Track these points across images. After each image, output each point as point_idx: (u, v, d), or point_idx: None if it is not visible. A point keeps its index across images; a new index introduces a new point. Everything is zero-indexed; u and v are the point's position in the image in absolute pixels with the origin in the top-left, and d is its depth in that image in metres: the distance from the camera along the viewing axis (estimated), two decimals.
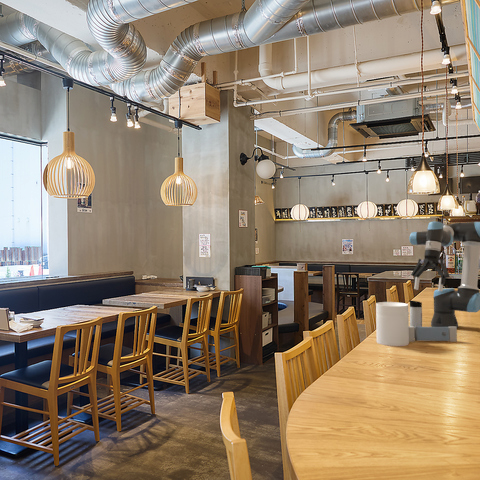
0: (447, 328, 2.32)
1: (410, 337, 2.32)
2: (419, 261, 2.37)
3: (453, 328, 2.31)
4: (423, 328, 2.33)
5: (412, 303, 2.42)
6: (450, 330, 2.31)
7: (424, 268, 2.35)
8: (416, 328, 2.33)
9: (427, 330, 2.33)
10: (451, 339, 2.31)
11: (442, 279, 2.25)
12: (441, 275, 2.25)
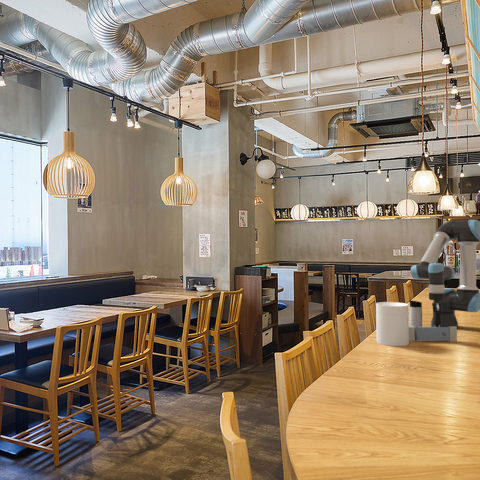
0: (447, 328, 2.31)
1: (410, 337, 2.32)
2: None
3: (453, 328, 2.31)
4: (423, 328, 2.33)
5: (412, 303, 2.42)
6: (450, 330, 2.31)
7: None
8: (416, 328, 2.33)
9: (427, 330, 2.32)
10: (451, 339, 2.31)
11: (435, 325, 2.35)
12: (434, 322, 2.35)
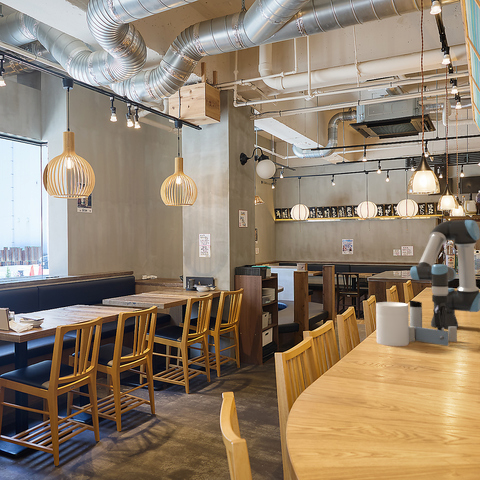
0: (446, 332, 2.22)
1: (410, 337, 2.32)
2: None
3: (453, 328, 2.31)
4: (422, 329, 2.31)
5: (412, 303, 2.42)
6: (450, 330, 2.31)
7: None
8: (415, 328, 2.33)
9: (425, 332, 2.29)
10: (451, 339, 2.31)
11: None
12: None
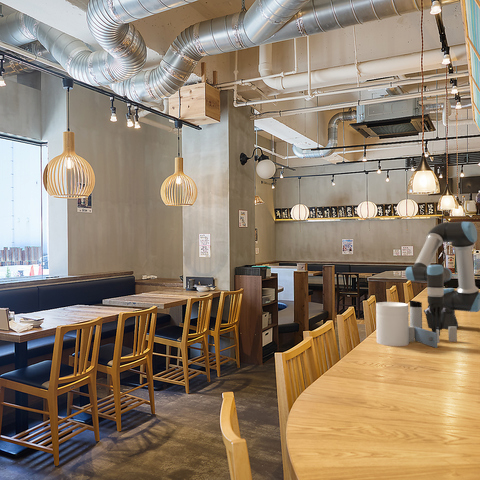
0: (434, 334, 2.18)
1: (410, 337, 2.32)
2: None
3: (453, 328, 2.31)
4: (419, 329, 2.30)
5: (412, 303, 2.42)
6: (450, 330, 2.31)
7: None
8: (414, 328, 2.33)
9: (421, 332, 2.28)
10: (451, 339, 2.31)
11: None
12: None
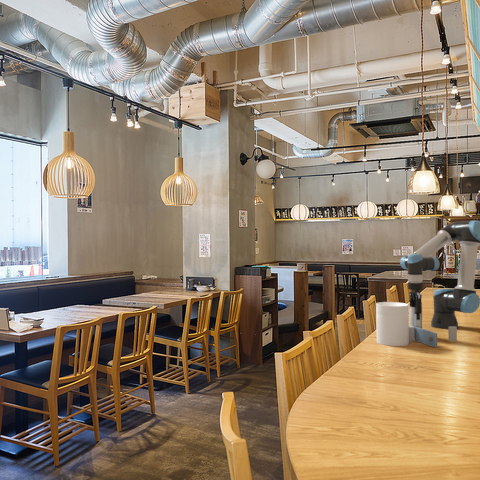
0: (434, 334, 2.18)
1: (410, 337, 2.32)
2: (410, 294, 2.49)
3: (453, 328, 2.31)
4: (419, 329, 2.30)
5: (412, 303, 2.42)
6: (450, 330, 2.31)
7: (414, 300, 2.45)
8: (414, 328, 2.33)
9: (421, 332, 2.28)
10: (451, 339, 2.31)
11: (416, 314, 2.39)
12: (415, 311, 2.39)
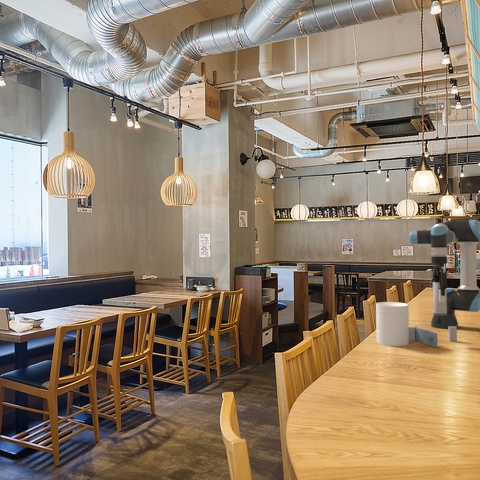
0: (434, 334, 2.18)
1: (410, 337, 2.32)
2: (433, 269, 2.33)
3: (453, 328, 2.31)
4: (419, 329, 2.30)
5: (436, 278, 2.25)
6: (450, 330, 2.31)
7: (437, 275, 2.29)
8: (414, 328, 2.33)
9: (421, 332, 2.28)
10: (451, 339, 2.31)
11: (441, 290, 2.23)
12: (440, 286, 2.23)
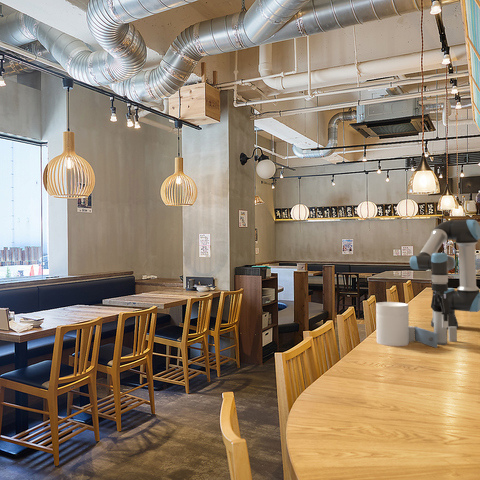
0: (434, 334, 2.18)
1: (410, 337, 2.32)
2: (433, 294, 2.33)
3: (453, 328, 2.31)
4: (419, 329, 2.30)
5: (436, 307, 2.25)
6: (450, 330, 2.31)
7: (437, 301, 2.30)
8: (414, 328, 2.33)
9: (421, 332, 2.28)
10: (451, 339, 2.31)
11: (444, 315, 2.20)
12: (442, 312, 2.20)
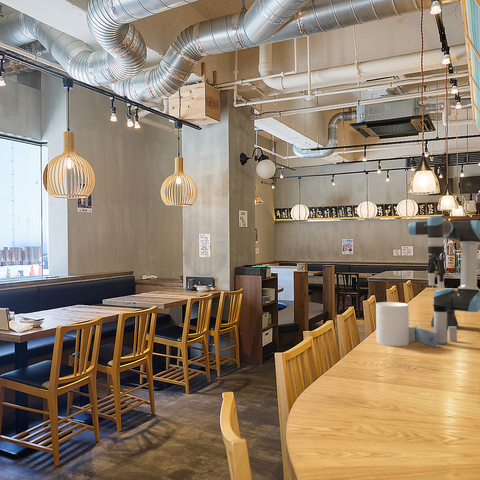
0: (434, 334, 2.18)
1: (410, 337, 2.32)
2: (429, 257, 2.37)
3: (453, 328, 2.31)
4: (419, 329, 2.30)
5: (436, 307, 2.25)
6: (450, 330, 2.31)
7: (433, 264, 2.34)
8: (414, 328, 2.33)
9: (421, 332, 2.28)
10: (451, 339, 2.31)
11: (439, 276, 2.24)
12: (438, 272, 2.24)
